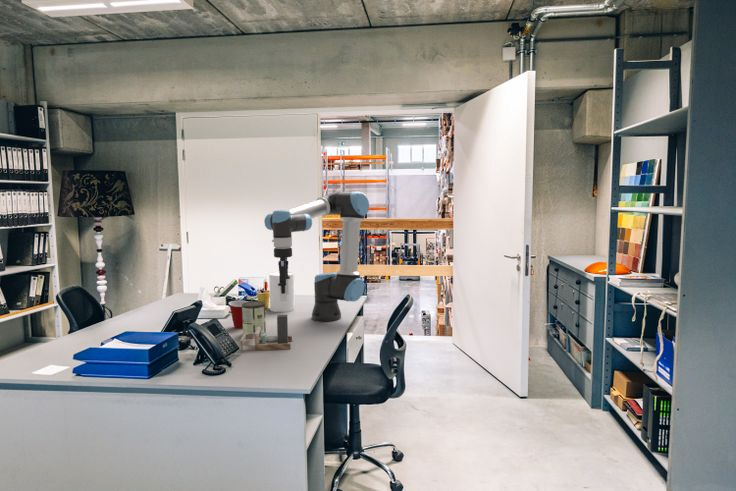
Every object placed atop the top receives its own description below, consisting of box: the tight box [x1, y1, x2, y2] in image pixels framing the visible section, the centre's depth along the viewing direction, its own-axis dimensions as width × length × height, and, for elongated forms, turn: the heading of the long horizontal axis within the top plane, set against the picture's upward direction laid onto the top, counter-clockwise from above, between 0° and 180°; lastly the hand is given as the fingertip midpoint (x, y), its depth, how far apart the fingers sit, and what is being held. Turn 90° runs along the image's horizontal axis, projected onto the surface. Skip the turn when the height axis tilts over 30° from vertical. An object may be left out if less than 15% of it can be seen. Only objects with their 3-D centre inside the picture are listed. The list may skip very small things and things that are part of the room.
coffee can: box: [242, 300, 267, 335], centre depth 214 cm, size 10×10×14 cm
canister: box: [268, 271, 296, 313], centre depth 263 cm, size 14×14×20 cm
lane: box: [239, 327, 293, 351], centre depth 197 cm, size 20×12×6 cm, turn 96°
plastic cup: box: [228, 300, 249, 330], centre depth 226 cm, size 11×11×12 cm
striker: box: [261, 314, 289, 344], centre depth 197 cm, size 10×4×12 cm, turn 96°
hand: (284, 297), depth 200 cm, fingers open, 13 cm apart
